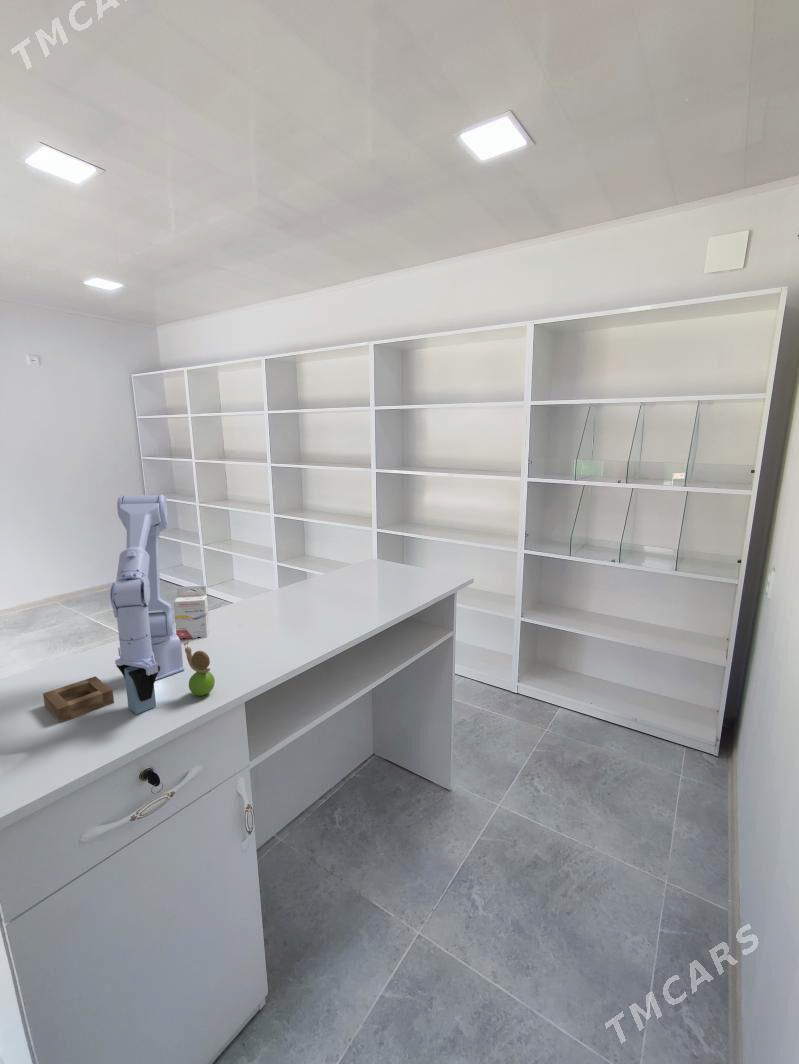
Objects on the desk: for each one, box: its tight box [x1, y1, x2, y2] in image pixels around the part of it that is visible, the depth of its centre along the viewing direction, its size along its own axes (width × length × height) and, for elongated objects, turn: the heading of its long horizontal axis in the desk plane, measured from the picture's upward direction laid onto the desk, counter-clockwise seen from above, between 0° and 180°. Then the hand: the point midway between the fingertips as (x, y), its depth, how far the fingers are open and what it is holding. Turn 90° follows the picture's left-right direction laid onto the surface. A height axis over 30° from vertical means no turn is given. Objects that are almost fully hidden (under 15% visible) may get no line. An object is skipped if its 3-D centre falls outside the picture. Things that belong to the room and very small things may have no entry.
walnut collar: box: [42, 676, 115, 724], centre depth 102 cm, size 10×10×3 cm
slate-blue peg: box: [124, 666, 157, 715], centre depth 100 cm, size 4×4×9 cm
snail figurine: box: [183, 641, 216, 697], centre depth 106 cm, size 5×6×12 cm
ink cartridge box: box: [173, 585, 210, 640], centre depth 139 cm, size 9×5×15 cm, turn 104°
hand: (141, 695), depth 101 cm, fingers closed on slate-blue peg, 4 cm apart
